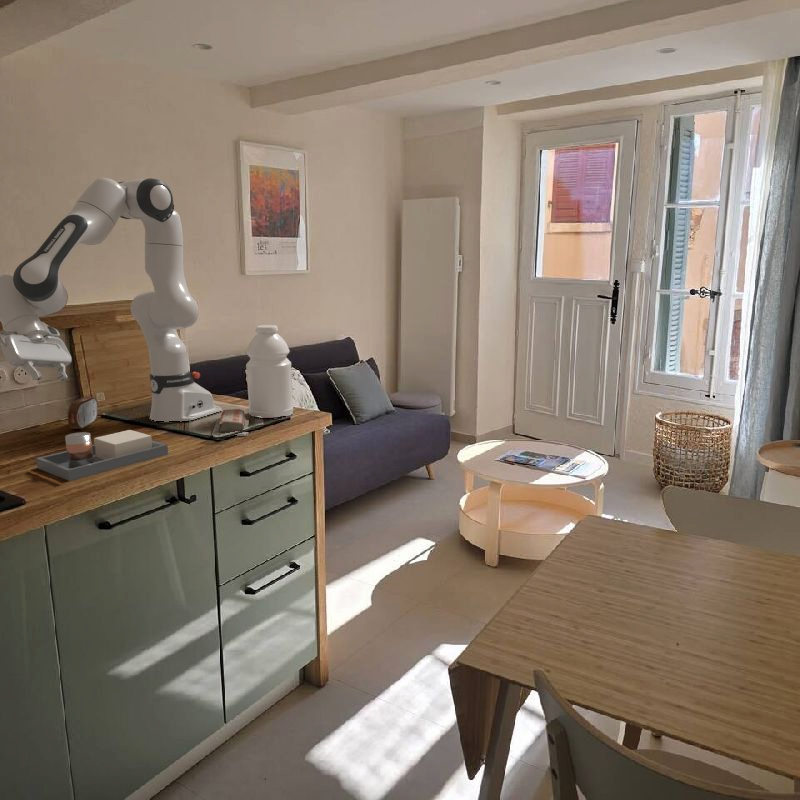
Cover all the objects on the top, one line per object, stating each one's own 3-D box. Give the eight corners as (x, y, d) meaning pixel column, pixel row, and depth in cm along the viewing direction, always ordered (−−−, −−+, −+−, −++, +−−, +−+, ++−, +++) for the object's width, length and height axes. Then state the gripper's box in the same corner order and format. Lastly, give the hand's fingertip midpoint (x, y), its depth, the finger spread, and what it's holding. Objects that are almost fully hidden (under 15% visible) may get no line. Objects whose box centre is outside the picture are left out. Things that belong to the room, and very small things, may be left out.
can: (86, 461, 181) (83, 431, 179) (98, 466, 177) (95, 434, 176) (64, 467, 177) (60, 436, 175) (76, 472, 173) (72, 439, 171)
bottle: (281, 407, 239) (276, 322, 232) (301, 414, 228) (297, 326, 221) (241, 413, 230) (235, 325, 224) (260, 421, 220) (255, 330, 213)
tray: (134, 445, 196) (133, 435, 196) (168, 456, 186) (167, 444, 186) (37, 470, 177) (36, 458, 176) (69, 483, 167) (68, 470, 166)
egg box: (131, 447, 192) (129, 429, 191) (152, 454, 186) (151, 435, 185) (96, 456, 185) (94, 438, 184) (116, 464, 179) (114, 444, 178)
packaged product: (215, 408, 218) (249, 407, 220) (216, 424, 220) (250, 422, 221) (210, 423, 201) (247, 421, 203) (211, 440, 202) (248, 438, 204)
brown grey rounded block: (91, 419, 226) (88, 393, 224) (101, 419, 226) (98, 393, 224) (68, 432, 211) (64, 404, 209) (79, 432, 211) (75, 404, 209)
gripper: (5, 323, 176) (31, 371, 174) (62, 330, 196) (86, 373, 194) (-14, 337, 177) (12, 385, 175) (45, 343, 197) (68, 386, 195)
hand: (51, 379), depth 185 cm, fingers open, 8 cm apart
